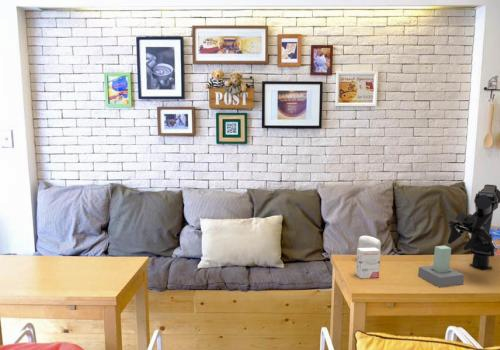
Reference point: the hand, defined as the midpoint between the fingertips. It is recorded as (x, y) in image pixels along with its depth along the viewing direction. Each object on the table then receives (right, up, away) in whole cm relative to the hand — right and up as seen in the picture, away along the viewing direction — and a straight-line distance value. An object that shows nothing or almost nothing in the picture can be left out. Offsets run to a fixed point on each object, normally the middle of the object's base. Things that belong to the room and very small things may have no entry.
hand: (456, 246), depth 170 cm
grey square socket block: (-7, -14, -1) cm, 16 cm away
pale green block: (-7, -13, -1) cm, 15 cm away
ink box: (-37, -13, +2) cm, 39 cm away
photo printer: (-32, -11, +18) cm, 38 cm away
